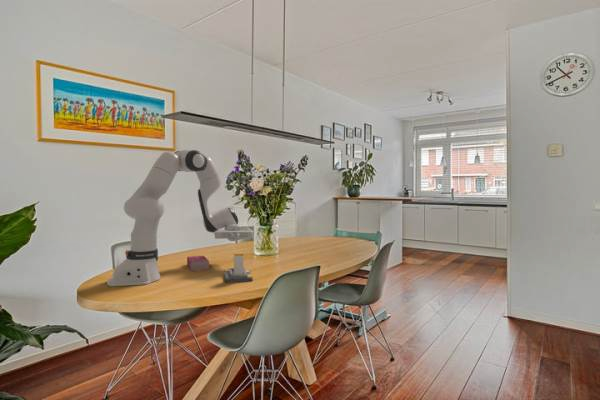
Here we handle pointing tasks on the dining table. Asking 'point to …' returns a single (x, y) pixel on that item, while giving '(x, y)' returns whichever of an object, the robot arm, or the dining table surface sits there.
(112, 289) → the dining table surface
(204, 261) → the maroon box
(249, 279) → the switch bank
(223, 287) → the dining table surface
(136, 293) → the dining table surface
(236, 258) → the tab
